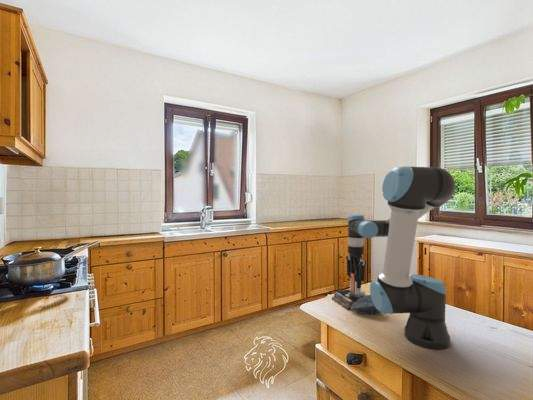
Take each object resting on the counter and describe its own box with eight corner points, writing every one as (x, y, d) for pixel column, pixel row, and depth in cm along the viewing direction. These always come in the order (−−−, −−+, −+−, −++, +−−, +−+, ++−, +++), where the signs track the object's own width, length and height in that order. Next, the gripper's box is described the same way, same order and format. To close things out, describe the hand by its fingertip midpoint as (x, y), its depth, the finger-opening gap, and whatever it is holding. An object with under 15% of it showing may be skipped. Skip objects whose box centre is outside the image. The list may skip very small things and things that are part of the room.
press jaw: (365, 301, 140) (365, 273, 140) (349, 303, 137) (349, 274, 137) (360, 298, 144) (360, 271, 144) (344, 300, 141) (344, 272, 141)
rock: (391, 318, 125) (385, 304, 134) (386, 302, 123) (380, 289, 133) (357, 326, 128) (353, 312, 138) (351, 310, 127) (348, 298, 136)
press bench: (376, 306, 137) (376, 297, 137) (347, 310, 132) (347, 301, 132) (358, 296, 151) (358, 288, 151) (331, 299, 146) (332, 291, 146)
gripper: (373, 248, 133) (372, 297, 133) (352, 242, 149) (352, 286, 149) (359, 249, 131) (358, 299, 131) (340, 243, 147) (339, 288, 147)
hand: (355, 292), depth 140 cm, fingers closed on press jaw, 3 cm apart
